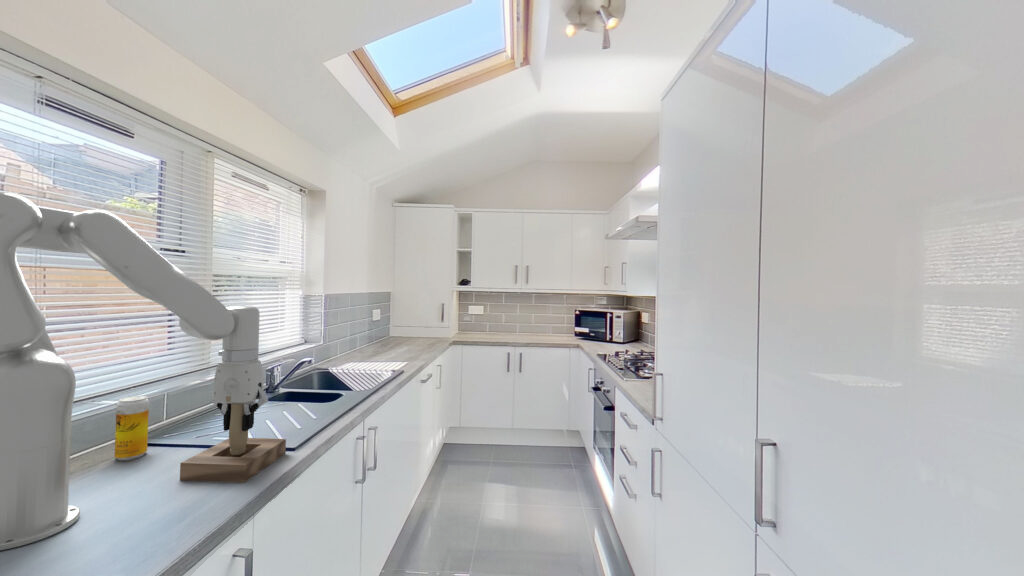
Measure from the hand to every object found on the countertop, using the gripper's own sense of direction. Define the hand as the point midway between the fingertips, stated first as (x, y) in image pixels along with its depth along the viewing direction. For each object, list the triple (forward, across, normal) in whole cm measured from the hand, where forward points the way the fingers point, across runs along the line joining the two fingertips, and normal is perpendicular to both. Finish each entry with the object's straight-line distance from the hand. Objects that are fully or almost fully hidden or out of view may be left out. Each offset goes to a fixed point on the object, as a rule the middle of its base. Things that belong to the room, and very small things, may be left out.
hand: (238, 428), depth 99 cm
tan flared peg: (+6, 0, 0) cm, 6 cm away
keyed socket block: (+9, 0, 0) cm, 9 cm away
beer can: (+9, -30, +4) cm, 32 cm away
